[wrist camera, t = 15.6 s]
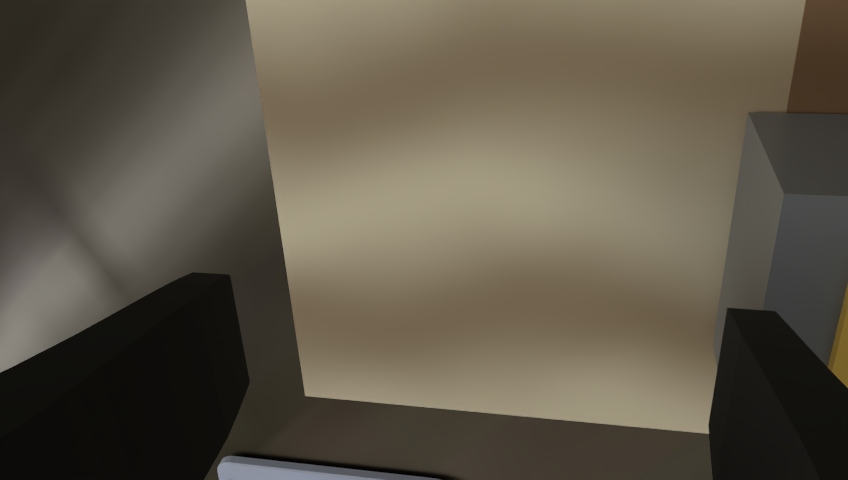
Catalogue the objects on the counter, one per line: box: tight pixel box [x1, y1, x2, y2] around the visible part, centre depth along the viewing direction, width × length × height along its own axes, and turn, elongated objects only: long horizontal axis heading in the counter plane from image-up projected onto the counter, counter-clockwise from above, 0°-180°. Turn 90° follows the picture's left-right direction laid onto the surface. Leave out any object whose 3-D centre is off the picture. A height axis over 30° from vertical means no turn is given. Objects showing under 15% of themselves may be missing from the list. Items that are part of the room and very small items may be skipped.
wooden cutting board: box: [246, 0, 848, 434], centre depth 18 cm, size 18×20×2 cm
